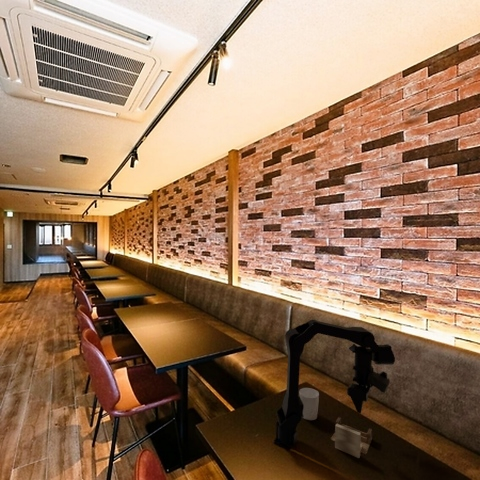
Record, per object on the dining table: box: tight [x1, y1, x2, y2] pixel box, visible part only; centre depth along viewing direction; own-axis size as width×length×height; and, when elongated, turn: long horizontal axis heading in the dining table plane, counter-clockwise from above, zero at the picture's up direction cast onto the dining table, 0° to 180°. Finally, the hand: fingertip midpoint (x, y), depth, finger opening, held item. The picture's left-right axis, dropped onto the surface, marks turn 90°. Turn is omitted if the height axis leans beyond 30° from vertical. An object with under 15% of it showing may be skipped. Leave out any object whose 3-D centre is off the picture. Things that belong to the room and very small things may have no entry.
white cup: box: [298, 387, 320, 421], centre depth 118 cm, size 8×8×10 cm
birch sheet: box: [334, 423, 361, 459], centre depth 97 cm, size 8×2×8 cm, turn 54°
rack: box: [330, 416, 373, 455], centre depth 104 cm, size 12×10×4 cm
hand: (362, 406), depth 104 cm, fingers open, 9 cm apart
